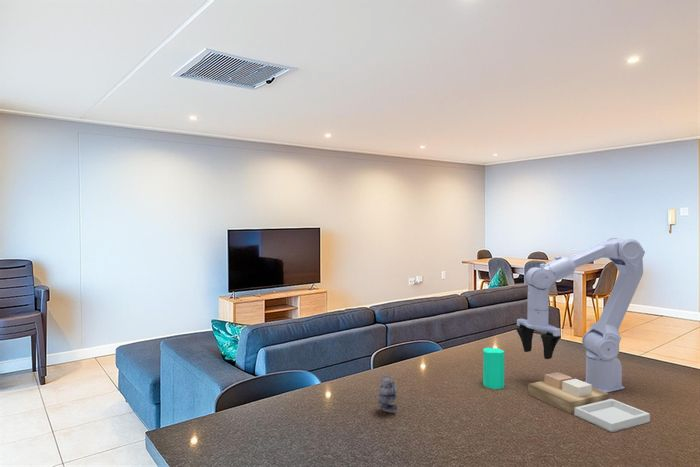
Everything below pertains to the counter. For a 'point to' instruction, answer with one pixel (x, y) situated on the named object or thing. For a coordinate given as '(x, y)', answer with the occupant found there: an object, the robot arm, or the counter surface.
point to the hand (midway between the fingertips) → (537, 354)
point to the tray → (612, 415)
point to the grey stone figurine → (387, 394)
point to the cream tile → (577, 387)
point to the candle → (493, 368)
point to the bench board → (564, 396)
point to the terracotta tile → (556, 379)
